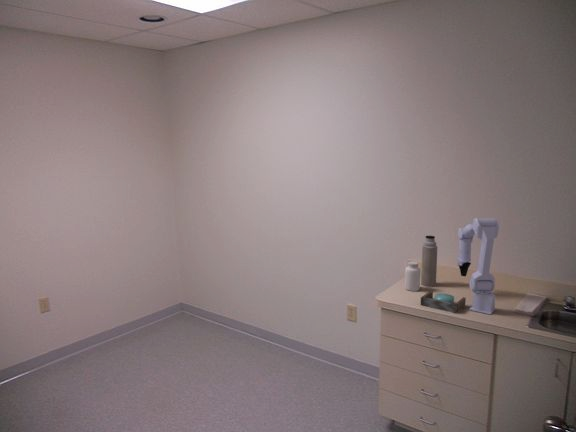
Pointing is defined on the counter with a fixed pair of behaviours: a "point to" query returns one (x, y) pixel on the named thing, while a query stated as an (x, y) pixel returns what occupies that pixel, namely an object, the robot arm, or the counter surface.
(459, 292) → the counter surface
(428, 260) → the thermos bottle
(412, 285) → the pill bottle
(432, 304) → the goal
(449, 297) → the teal flat rounded lump
